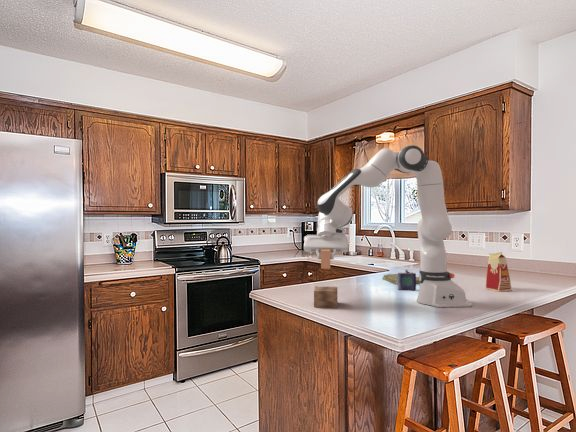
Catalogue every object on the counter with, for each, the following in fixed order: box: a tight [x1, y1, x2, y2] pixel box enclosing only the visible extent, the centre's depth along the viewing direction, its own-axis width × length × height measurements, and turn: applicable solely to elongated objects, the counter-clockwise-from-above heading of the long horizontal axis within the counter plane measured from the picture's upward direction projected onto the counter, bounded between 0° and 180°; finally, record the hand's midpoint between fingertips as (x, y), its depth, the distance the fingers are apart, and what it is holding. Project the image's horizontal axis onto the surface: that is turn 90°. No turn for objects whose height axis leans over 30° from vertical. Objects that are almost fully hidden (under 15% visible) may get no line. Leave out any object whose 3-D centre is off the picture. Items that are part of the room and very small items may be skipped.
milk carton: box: [485, 251, 513, 293], centre depth 191 cm, size 9×9×20 cm
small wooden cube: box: [313, 285, 338, 309], centre depth 161 cm, size 10×10×7 cm
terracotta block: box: [320, 249, 331, 270], centre depth 161 cm, size 4×4×8 cm
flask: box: [397, 269, 417, 292], centre depth 191 cm, size 9×3×11 cm, turn 79°
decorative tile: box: [382, 273, 420, 286], centre depth 215 cm, size 19×20×4 cm
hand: (325, 258), depth 160 cm, fingers closed on terracotta block, 4 cm apart
